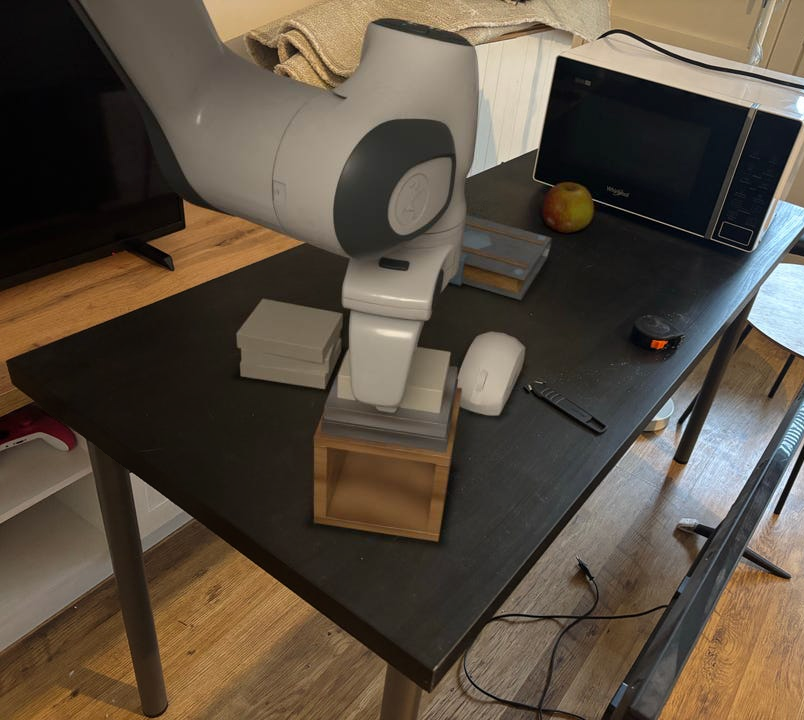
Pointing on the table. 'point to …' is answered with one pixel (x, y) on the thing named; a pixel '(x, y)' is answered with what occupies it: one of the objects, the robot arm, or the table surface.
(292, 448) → the table surface
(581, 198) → the fruit
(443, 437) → the oak stand
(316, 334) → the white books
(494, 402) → the computer mouse
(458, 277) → the book
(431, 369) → the beige flat block
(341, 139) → the robot arm
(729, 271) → the table surface
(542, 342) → the table surface
